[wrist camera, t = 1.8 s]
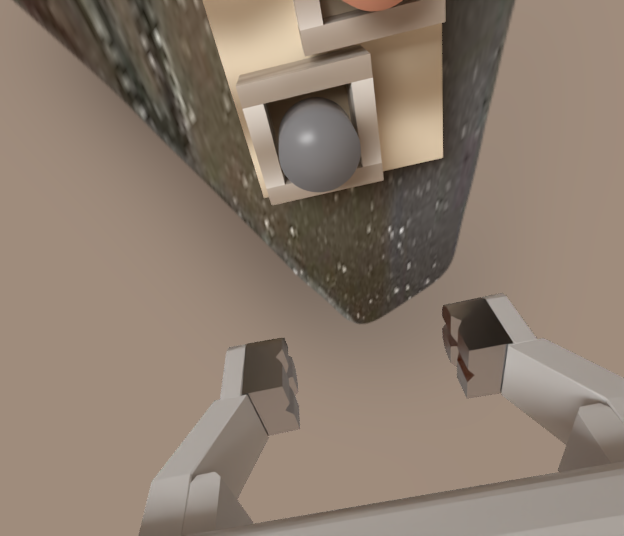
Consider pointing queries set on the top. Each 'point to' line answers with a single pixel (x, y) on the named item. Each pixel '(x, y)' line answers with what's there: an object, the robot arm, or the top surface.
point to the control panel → (335, 78)
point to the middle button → (372, 4)
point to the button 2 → (318, 145)
